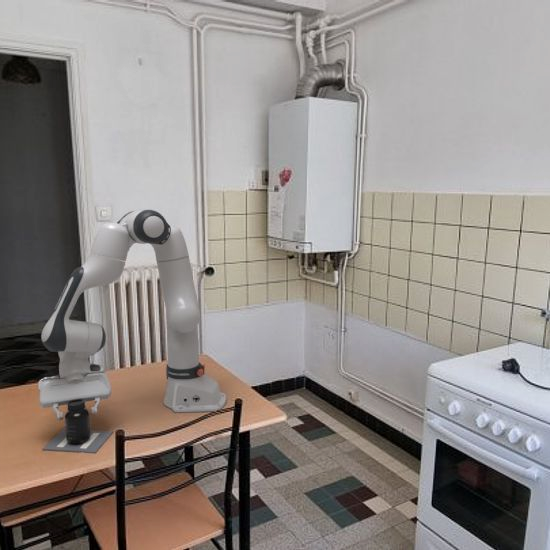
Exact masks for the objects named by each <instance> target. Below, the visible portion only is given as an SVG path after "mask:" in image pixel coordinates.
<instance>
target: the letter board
mask: <svg viewBox="0 0 550 550" xmlns="http://www.w3.org/2000/svg"><path fill="white" fill-rule="evenodd" d="M90 433H91V437H90V439H89V440H88V441H87V442H85V443H83V444H79V445H71V444H69V443H67V440H66V428H63V429H61V431H59V432H58V433H57V434H56V435H55V436H54V437H53V438H52V439H51V440H50V441H49V442H48V443H47V444H45V445H44V446H43V447H42V448H41V450H42V451H48V452H51V451H53V452H67V453H81V452H84V453H85V454H97V452H98V451H99V450H100V449H101V448H102V446H103V445H104V444H105V443H106V442H107V440H108V439H109V438H110V437H111V435H112V434H113V433H114V432H113V431H111V430H110V431H107V430H93V429H92V430H91V429H90ZM109 436H110V437H109ZM104 442H105V443H104ZM99 448H100V449H99ZM98 449H99V450H98ZM97 450H98V451H97Z"/></svg>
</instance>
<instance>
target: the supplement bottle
mask: <svg viewBox="0 0 550 550" xmlns="http://www.w3.org/2000/svg"><path fill="white" fill-rule="evenodd" d="M66 407H67V408H66V409H67V411H66V412H65V414H64V426H65V428H64V429H66V440H67V443H69V444H71V445H79V444H83V443H85V442H87V441H88V440H89V439H90V437H91V433H90V430H91V423H90V422H91V421H90V411H89V409H87V408H86V402H85V401H84V400H73V401H70V402H69V403H68V404H67V405H66Z"/></svg>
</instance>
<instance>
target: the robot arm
mask: <svg viewBox="0 0 550 550" xmlns="http://www.w3.org/2000/svg"><path fill="white" fill-rule="evenodd" d="M134 244H141V245H143V244H144V245H146V244H150V245H151V247H152V248H153V251H154V254H155V255H154V256H155V259H156V265H157V270H158V276H159V280H160V286H161V291H162V295H163V302H164V307H165V315H166V316H165V317H166V318H165V321H166V340H167V341H166V342H167V343H166V345H167V346H166V347H167V348H166V349H167V351H166V353H167V364H166V368H165V375H166V380H167V383H166V391H165V395H164V399H163V405H164V406H166V407H167V408H169V409H171V410H172V411H173V412H174V413H195V412H196V413H199V412H218V411H219V410H222V409H223V407H225V405H226V404H227V394H225V392H221V387H220V384H219V382H218V381H217V380H215V379H214V378H212V377H211V376H209V374H207V373H206V372H205V367H206V366H205V363H203V364H202V363H201V362H200V350H199V349H200V343H199V340H200V339H199V329H198V326H199V324H200V321H201V309H200V306H199V305H200V304H199V301H198V296H197V290H196V287H195V282H194V277H193V272H192V267H191V260H190V256H189V251H188V247H187V242H186V239H185V237H184V234H183V232H182V230H181V228H179V227H177V226H175V225H169V223H168V222H167V220H166V218H165V217H164V216H163V215H162V214H161V213H160V212H158V211H157V210H154V209H138V210H132V211H129V212H127V213H126V214H124V215H123V216H122V217H121V218H120V219H119V220H118V221H117V222H106V223H103V224H102V225H101V226H100V227H99V229H98V231H97V233H96V235H95V237H94V239H93V242H92V245H91V248H90V252H89V255H88V258H87V259H86V261H85V262H84V263H83V264H82V265H81V266H79V267H77V268H75V269H74V270H73V272H72V273H71V274H70V276H69V278H68V280H67V281H66V284H64V285H65V286H64V288H63V289H62V292H61V294H60V296H59V298H58V301H57V302H56V304H55V307H54V309H53V311H52V313H51V315H49V318H48V320H47V321H46V323H45V324H44V326H43V329H42V331H41V335H40V340H41V343H42V345H43V346H44V347H45V348H46V349H47V350H48V351H50V352H57V353H58V357H59V364H58V371H59V374H58V375H54V376H53V375H52V376H45V377H43V378H41V379H40V380H39V381H38V383H37V389H38V391H39V397H38V398H39V400H38V401H39V403H38V404H39V406H40V407H41V408H42V409H45V408H46V409H47V408H52V410H53V412H54V413H55V414H56V417H57V420H58V421H60V420H63V419H64V414H63V413H64V412H63V411H59V407H60V406H67V404H68V403H69V402H70V401H73V400H84V401H85V403H87V402H94V406H91V415H97V414H98V407H99V405H100V403H101V400H107V399H109V398H110V397H111V395H112V387H111V383H110V378H109V375H108V374H106V373H105V372H106V369H105V366H104V365H103V364H97V363H90V361H89V358H90V356H94V355H96V354H97V353H98V352H100V351H101V350H102V349H103V348H104V347H105V345H106V340H107V336H106V335H107V334H106V332H105V329H104V327H103V326H102V325H101V324H100V323H96V322H91V321H90V322H89V321H80V320H74V319H70V316H71V314H72V312H73V310H74V308H75V306H76V304H77V301H78V299H79V297H80V296H81V294H82V293H83V292H85V291H87V290H89V289H93V288H97V287H102V286H108V285H111V284H113V283H115V282H117V280H118V279H120V278H121V276H122V274H123V272H124V269H125V267H126V266H125V265H126V262H127V258H128V252H129V251H130V249H131V247H132V246H133V245H134ZM217 410H218V411H217Z"/></svg>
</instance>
